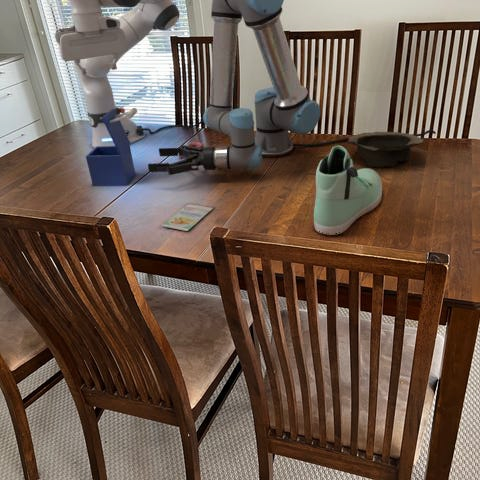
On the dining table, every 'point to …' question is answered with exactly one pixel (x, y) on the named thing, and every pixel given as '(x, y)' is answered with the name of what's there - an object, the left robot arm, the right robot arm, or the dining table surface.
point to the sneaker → (343, 192)
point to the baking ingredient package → (187, 217)
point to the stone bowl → (384, 147)
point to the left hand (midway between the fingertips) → (99, 71)
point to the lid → (118, 128)
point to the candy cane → (193, 145)
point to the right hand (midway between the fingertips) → (154, 159)
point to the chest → (110, 166)
